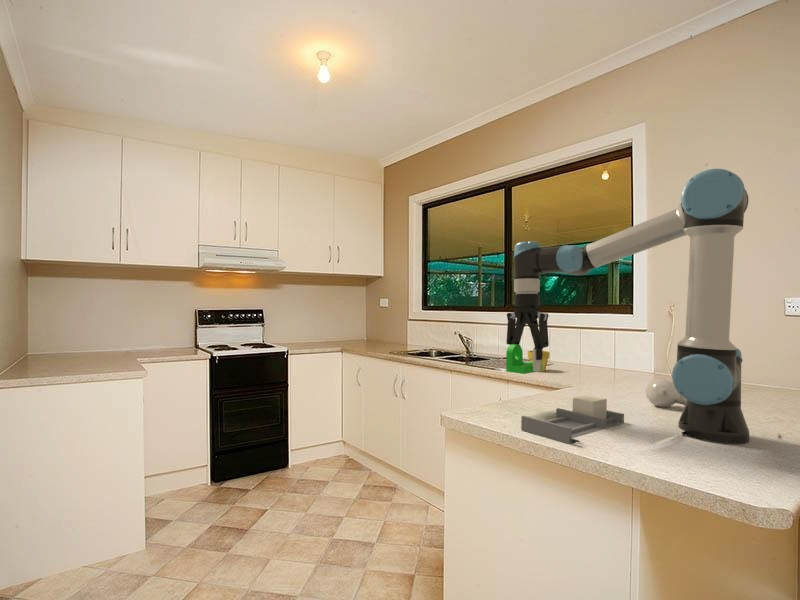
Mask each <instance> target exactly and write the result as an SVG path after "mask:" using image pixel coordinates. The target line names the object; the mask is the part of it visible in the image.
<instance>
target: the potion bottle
mask: <svg viewBox="0 0 800 600" xmlns="http://www.w3.org/2000/svg"><path fill="white" fill-rule="evenodd" d="M645 397H646V398H647V399H648V401H649V402H650V403H651V404H652V405H653V406H656V407H658V408H660V407H664V408H665V407H666V408H669V407H671V406H673V405H675V404H679V405H683V406H685V405H686V400H687V399H685V398H684V397H683V396H681V395H680V394H679V393H678V391H677V390H676V388H675V387H674V384H673V381H672V380H671V381H670V380H668V379H666V378H655V379H653V380H651V381H649V382H648V384H647V386H646V388H645ZM666 408H665V409H666Z"/></svg>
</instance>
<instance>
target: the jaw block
mask: <svg viewBox="0 0 800 600" xmlns="http://www.w3.org/2000/svg"><path fill="white" fill-rule="evenodd" d="M607 399H608V398H603V397H599V396H592V395H581V396H576V397H573V398H572V411H574V412H578V413H583V414H587V415H592V416H596V417H601V418H605V419H606V417H607V407H608V406H607V402H608V401H607Z"/></svg>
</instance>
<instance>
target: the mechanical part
mask: <svg viewBox="0 0 800 600" xmlns="http://www.w3.org/2000/svg"><path fill="white" fill-rule="evenodd" d="M520 345H521V344H519V345H515V344H511V345H509V344H508V347H507V349H506V353H505V354H506V359H505V361H506V364H505V366H506V368H505V371H506V373H507V372H508V373H514V374H522V375H526V374H531V373H539V372H538V371H533V362H530V361H523V358H524V357H523V355H524V354H523V347H522V346H520ZM541 371H542V364H541Z"/></svg>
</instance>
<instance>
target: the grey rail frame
mask: <svg viewBox="0 0 800 600" xmlns="http://www.w3.org/2000/svg"><path fill="white" fill-rule="evenodd" d="M555 410H556V411H555V412H556V413H555V415H556V417H553V418H548V419H544V420H542V419H539V418H534V417H530V416H527V415H521V423H520V424H521V425H520V428H521V429H520V430H521V431H523V432H526V433H530V434H533V435H537V436H540V437H544V438H547V439H550V440H553V441H558V442H561V443H565V444H568V445H570V444H571V445H572V444H573V443H578V442H579V440H577V439H575V438H579V437H581V436H584V435H589V434H591V433H595V432H599V431H601V430H605V429H609V428H612V427H615V426H620V425H622V424H624V423H625V413H622V412H617V411H612V410H607V417H606V419H605V418H601V417H596V416H592V415H587V414H583V413H578V412H574V411H573V410H569V409H568V410H567V409H563V408H561V407H560V408H559V407H558V408H556V409H555Z"/></svg>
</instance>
